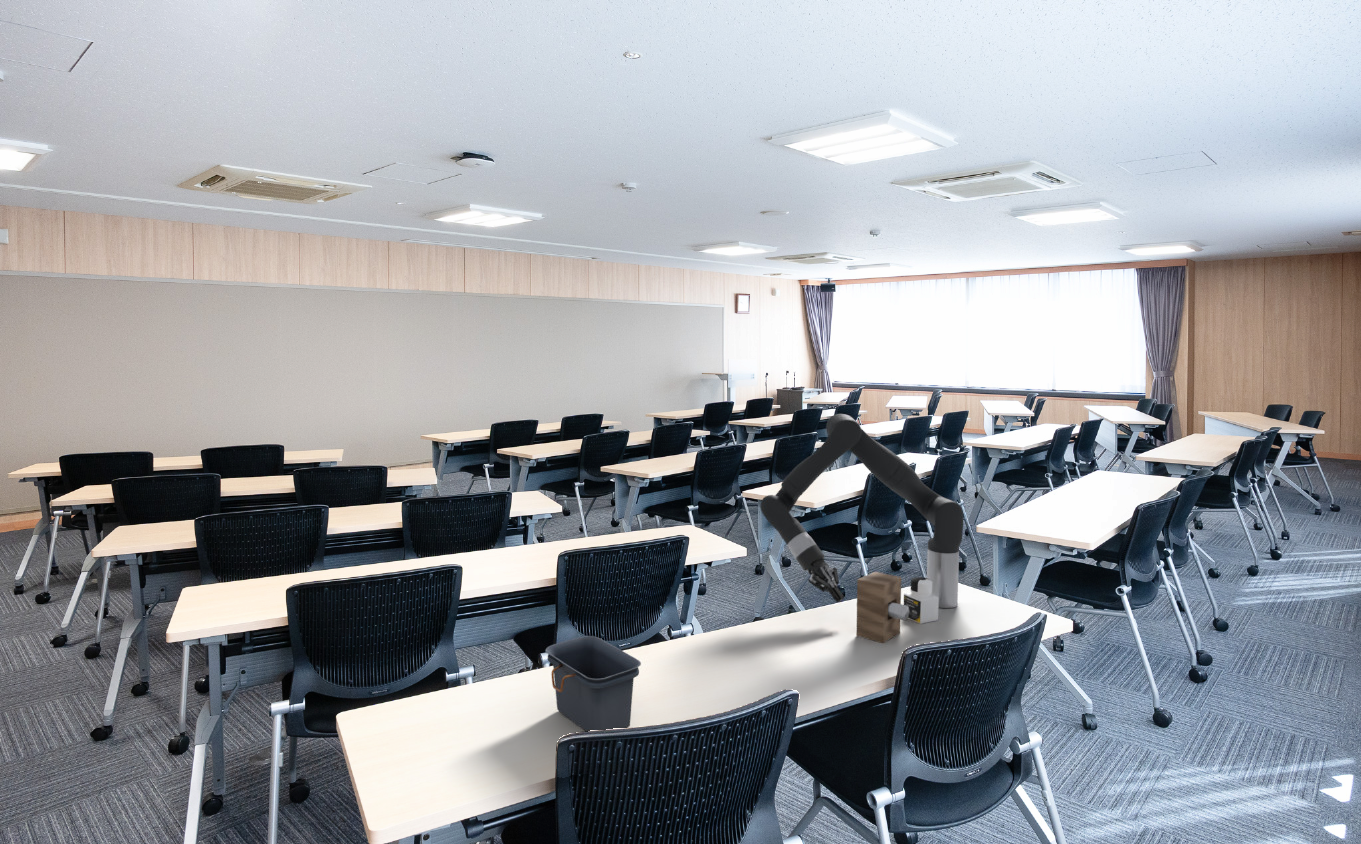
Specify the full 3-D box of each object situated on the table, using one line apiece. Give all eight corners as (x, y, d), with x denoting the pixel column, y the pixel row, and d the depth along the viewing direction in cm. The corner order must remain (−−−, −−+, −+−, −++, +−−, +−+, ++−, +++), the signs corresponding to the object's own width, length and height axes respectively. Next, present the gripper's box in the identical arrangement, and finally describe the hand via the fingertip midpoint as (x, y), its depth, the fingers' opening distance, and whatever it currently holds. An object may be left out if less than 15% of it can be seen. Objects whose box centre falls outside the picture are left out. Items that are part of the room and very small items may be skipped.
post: (874, 626, 214) (875, 571, 213) (900, 633, 209) (901, 577, 208) (856, 635, 207) (857, 579, 206) (882, 643, 202) (883, 585, 200)
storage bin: (648, 728, 156) (648, 662, 154) (585, 753, 146) (584, 683, 145) (592, 693, 172) (591, 633, 171) (532, 714, 162) (531, 650, 161)
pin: (867, 610, 213) (867, 589, 213) (910, 620, 204) (911, 599, 204) (856, 615, 209) (856, 594, 208) (900, 626, 200) (900, 604, 199)
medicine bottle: (902, 616, 222) (903, 577, 221) (921, 613, 225) (922, 574, 224) (919, 624, 216) (920, 583, 215) (938, 620, 219) (939, 580, 218)
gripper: (801, 548, 215) (837, 598, 208) (825, 540, 225) (860, 588, 218) (785, 562, 220) (820, 612, 212) (810, 554, 229) (844, 601, 222)
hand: (840, 600), depth 215 cm, fingers closed
